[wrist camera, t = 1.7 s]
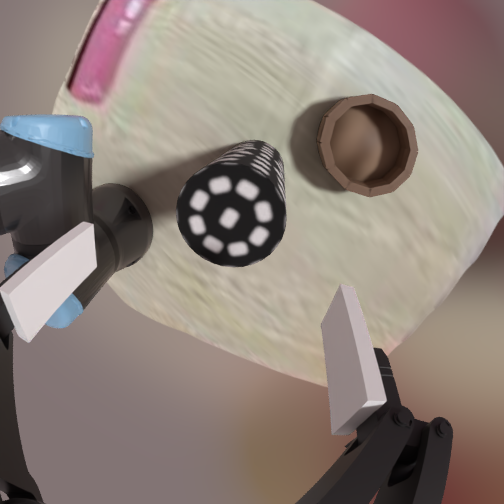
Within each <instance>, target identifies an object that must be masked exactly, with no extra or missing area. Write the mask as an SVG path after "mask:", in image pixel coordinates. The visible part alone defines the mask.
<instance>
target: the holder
mask: <svg viewBox="0 0 504 504" xmlns="http://www.w3.org/2000/svg"><path fill="white" fill-rule="evenodd" d="M323 116H324V117H322V121H321V123H320V126H319V129H318V136H317V145H318V150H319V154H320V157H321V160H322V164H323V165H324V167H325V168H326V169H327V170H328V171H329V172H330V174H331V175H332V176H333V177H334V178H335V179H336V180H337V181H338V182H339V183H340V184H341V185H342V186H343V188H344V189H346V190H348V191H352V192H355V193H358V194H361V195H364V196H367V197H373V196H378V195H382V194H387V193H391V192H392V191H393V192H394V191H395V190H396V189H397V188H398V187H399V186H400V185H401V184H402V183H403V182H404V181H405V180H407V179H408V178H409V177H410V175H411V173H412V170H413V167H414V164H415V161H416V157H417V154H418V152H417V151H418V147H417V141H416V135H415V130H414V126H413V124H412V123H411V122H410V120H409V119H408V118H407V116H406V115H405V114H404V112H403V111H402V110H401V109H400V107H399V106H398V105H396V104H395V103H393V102H391V101H388V100H386V99H384V98H381V97H379V96H377V95H374V94H368V95H361V96H355V97H349V98H345V99H341V100H340V101H338V102H337V103H336V104H335V105H334V106H332V107H331V108H330V109H329V110H328V111H327V112H326V114H324V115H323ZM409 174H410V175H409Z"/></svg>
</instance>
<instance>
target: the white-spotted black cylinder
mask: <svg viewBox="0 0 504 504" xmlns="http://www.w3.org/2000/svg"><path fill="white" fill-rule="evenodd" d="M176 217H177V223H178V227H179V230H180V232H181V234H182V236H183V238H184V240H185V241H186V243H187V244H188V245H189V247H190V248H191V249H192V250H193V251H194V252H195V253H196V254H198V255H199V256H201V257H202V258H204V259H205V260H207V261H210V262H212V263H214V264H217V265H221V266H226V267H244V266H248V265H252V264H254V263H257V262H259V261H261V260H263V259H264V258H266V257H267V256H268V255H270V254H271V253H272V252H273V251H274V250H275V248H276V247H277V246H278V244H279V243H280V241H281V239H282V237H283V234H284V231H285V227H286V197H285V179H284V165H283V161H282V157H281V156H280V154H279V152H278V151H277V150H276V149H275V148H274V147H273V146H271V145H270V144H268V143H266V142H263V141H259V140H249V141H245V142H242V143H240V144H239V145H237V146H235V147H234V148H232V149H231V150H229V151H228V152H226V153H225V154H223V155H221V156H220V157H218V158H217V159H215V160H214V161H213V162H211V163H210V164H208V165H207V166H205V167H204V168H202V169H201V170H199V171H198V172H197V173H195V174H194V175H193V176H192V177H191V178H190V179H189V180H188V181H187V182H186V184H185V185H184V187H183V188H182V190H181V192H180V195H179V197H178V201H177V207H176Z"/></svg>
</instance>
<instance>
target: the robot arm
mask: <svg viewBox="0 0 504 504" xmlns="http://www.w3.org/2000/svg"><path fill="white" fill-rule="evenodd" d="M0 128H1V130H0V235H3V234H6V233H11V237H12V241H13V246H14V251H15V252H14V254H11V255H10V256H9V257H8V260H7V261H6V262H5V267H4V271H5V272H4V273H5V277H6V279H5V280H4V281H3V282H2V283H1V284H0V490H1V491H3V492H4V493H6V494H7V496H8V497H9V500H5V501H2V498H1V495H0V504H45V503H44V502H43V500H42V497H41V494H40V491H39V489H38V486H37V484H36V482H35V480H34V479H33V478H32V476H31V475H30V474H29V472H28V469H27V466H26V462H25V459H24V454H23V450H22V445H21V440H20V435H19V429H18V423H17V415H16V407H15V397H14V384H13V334H12V332H11V331H12V330H13V328H14V327H15V329H16V331H17V333H18V336H19V337H21V338H22V339H24V340H25V341H27V342H28V343H29V342H30V341H31V340H32V339H33V337H34V336H35V335H36V334H37V332H38V331H39V330H40V329H41V328H42V326H43V325H44V324H46V325H48V326H51V327H54V328H65V327H67V326H68V325H70V324H71V323H72V322H73V321H74V319H75V318H76V317H77V316H78V315H80V314H82V313H83V310H84V309H85V307H86V306H87V305H88V304H89V303H90V301H91V300H92V299H93V298H94V296H95V295H96V294H97V293H98V291H99V290H100V289H101V287H103V285H104V284H105V283H106V282H107V281H108V279H109V278H110V277H111V276H112V275H113V274H114V273H115V272H117V271H119V270H122V269H124V268H125V267H129V266H131V265H133V264H135V263H136V262H138V261H139V260H140V259H141V258H142V257H143V256H144V254H145V253H146V252H147V251H148V249H149V247H150V245H151V242H152V237H153V226H152V220H151V217H150V214H149V212H148V209H147V208H146V206H145V204H144V203H143V201H142V200H141V199H140V198H139V196H138V195H137V194H135V193H134V192H133V191H132V190H130V189H129V188H127V187H125V186H123V185H120V184H114V183H108V184H104V185H101V186H99V187H97V188H95V189H93V190H92V158H93V157H94V153H93V152H92V132H93V130H92V125H91V123H90V121H89V120H88V119H87V118H85V117H83V116H75V115H16V116H6V117H4V118H3V120H2V123H1V124H0ZM321 329H322V336H323V344H324V353H325V362H326V371H327V381H328V391H329V403H330V416H331V430H332V435H350V434H351V433H352V432H353V431H354V430H357V437H356V438H355V439H353V440H352V441H351V442H350V443H348V444H347V445H346V446H345V447H346V448H347V449H346V450H345V451H344V452H343V454H342V455H341V456H340V457H339V459H338V460H337V461H336V462H335V463H334V464H333V465H332V467H331V468H330V469H329V470H328V471H327V472H326V473H325V474H324V475H323V476H322V478H321V479H320V480H319V481H318V482H317V483H316V484H315V485H314V486H313V487H312V488H311V489H310V490H309V491H308V492H307V493H306V494H305V495H304V496H303V497H302V498H301V499H300V500H299V501H298V502H297V503H295V504H369V502H370V501H371V499H372V498H373V497H374V495H375V494H376V492H377V491H378V490H379V491H378V494H377V496H376V499H375V501H374V503H373V504H441V501H442V498H443V494H444V489H445V485H446V480H447V475H448V469H449V463H450V456H451V448H452V439H453V429H452V427H451V424H450V423H449V422H448V420H446V419H445V418H442V417H437V418H434V419H433V420H432V421H431V422H430V423H427V422H424V421H420V420H417V419H414V416H413V414H412V412H411V411H410V410H409V409H408V408H406V407H404V406H402V405H401V402H400V398H399V394H398V391H397V387H396V383H395V380H394V377H393V373H392V370H391V369H390V368H391V366H390V363H389V360H388V358H387V356H386V354H385V353H384V352H383V350H382V349H380V348H373V346H372V342H371V339H370V335H369V332H368V329H367V326H366V322H365V319H364V316H363V313H362V310H361V307H360V304H359V301H358V298H357V295H356V292H355V289H354V287H351V286H347V285H343V284H340V286H339V288H338V290H337V292H336V294H335V296H334V298H333V301H332V303H331V305H330V307H329V309H328V311H327V313H326V315H325V317H324V319H323V321H322V323H321ZM379 488H380V489H379Z"/></svg>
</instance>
